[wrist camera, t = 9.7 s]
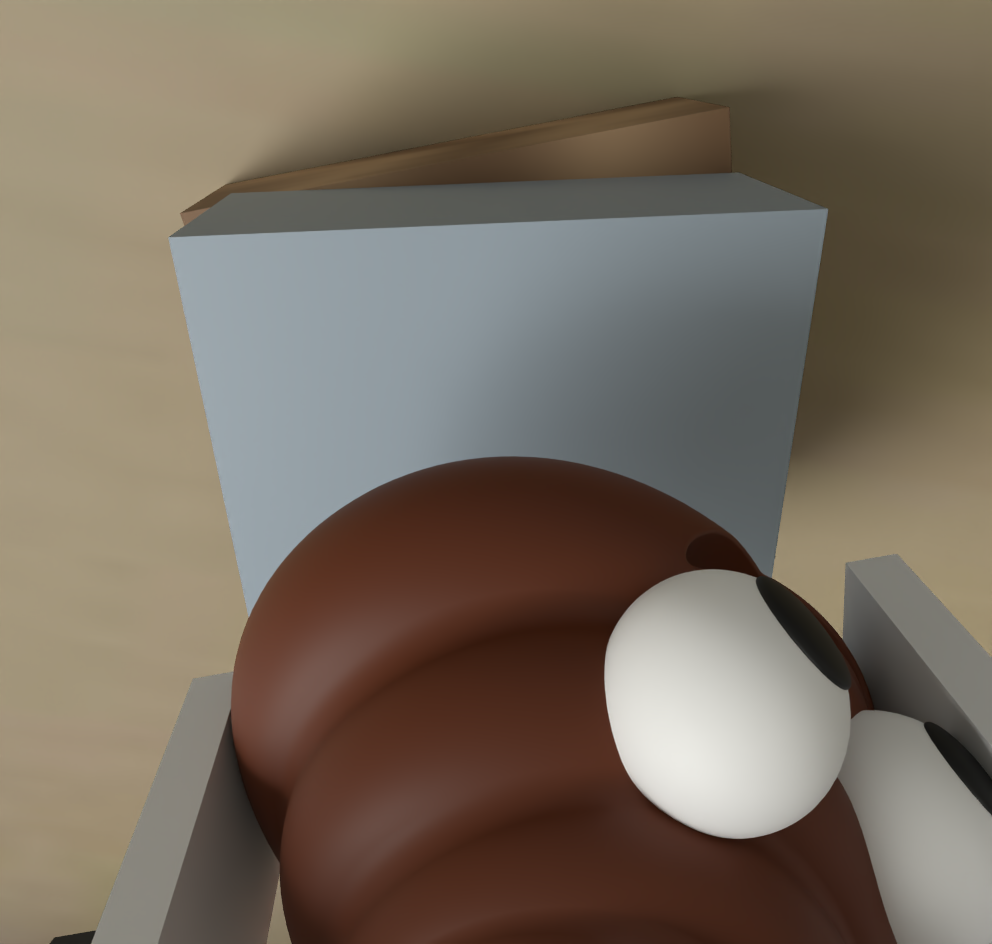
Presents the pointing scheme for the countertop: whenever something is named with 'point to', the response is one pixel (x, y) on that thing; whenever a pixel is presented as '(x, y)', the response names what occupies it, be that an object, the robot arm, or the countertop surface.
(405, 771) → the poop emoji
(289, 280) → the top block
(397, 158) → the bottom block
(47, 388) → the countertop surface
